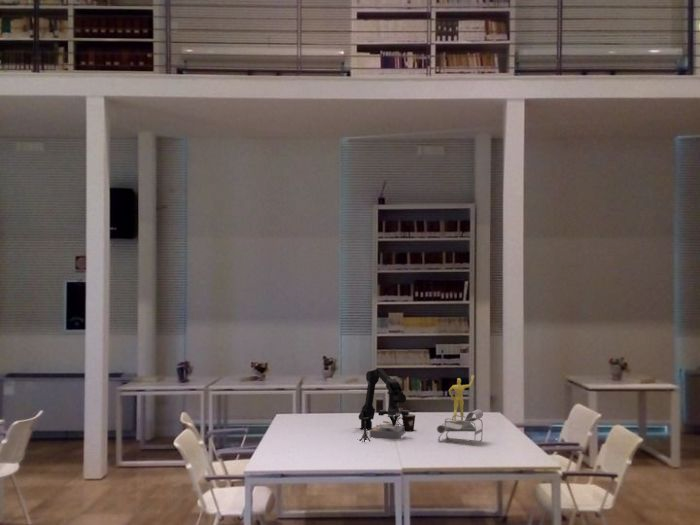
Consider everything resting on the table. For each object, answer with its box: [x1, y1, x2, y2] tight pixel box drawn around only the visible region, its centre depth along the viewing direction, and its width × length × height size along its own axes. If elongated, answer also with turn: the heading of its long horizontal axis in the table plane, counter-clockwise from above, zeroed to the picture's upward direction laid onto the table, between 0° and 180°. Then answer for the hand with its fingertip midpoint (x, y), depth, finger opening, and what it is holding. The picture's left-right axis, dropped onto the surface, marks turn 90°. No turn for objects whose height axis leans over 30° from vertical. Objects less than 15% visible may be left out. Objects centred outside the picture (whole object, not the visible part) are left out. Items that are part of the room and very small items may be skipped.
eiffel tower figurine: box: [359, 422, 371, 443], centre depth 489 cm, size 15×10×13 cm
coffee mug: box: [396, 413, 416, 432], centre depth 524 cm, size 12×9×10 cm
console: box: [369, 424, 406, 440], centre depth 509 cm, size 18×22×5 cm
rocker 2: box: [382, 419, 400, 426], centre depth 515 cm, size 10×4×1 cm, turn 76°
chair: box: [436, 408, 484, 446], centre depth 486 cm, size 13×25×20 cm, turn 62°
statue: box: [446, 375, 475, 432], centre depth 531 cm, size 20×19×36 cm
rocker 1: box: [378, 423, 397, 429], centre depth 502 cm, size 10×4×1 cm, turn 76°
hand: (394, 426), depth 501 cm, fingers closed, pressing on rocker 1
